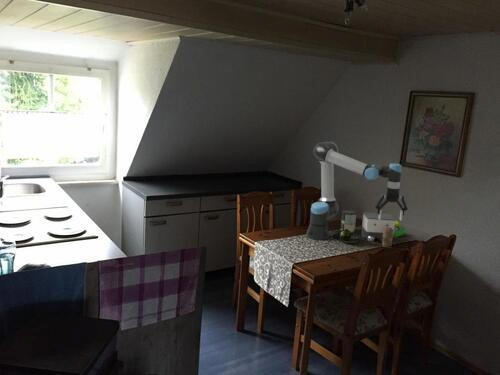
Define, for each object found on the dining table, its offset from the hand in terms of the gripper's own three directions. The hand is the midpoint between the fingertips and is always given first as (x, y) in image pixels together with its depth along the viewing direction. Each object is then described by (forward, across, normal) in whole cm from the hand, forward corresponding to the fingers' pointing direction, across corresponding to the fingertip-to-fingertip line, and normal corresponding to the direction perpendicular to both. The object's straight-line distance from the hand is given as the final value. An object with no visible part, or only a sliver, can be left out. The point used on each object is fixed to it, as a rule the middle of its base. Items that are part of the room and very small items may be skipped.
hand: (389, 219), depth 274 cm
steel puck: (+18, -8, +11) cm, 23 cm away
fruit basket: (+18, +13, +27) cm, 35 cm away
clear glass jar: (+18, -21, +31) cm, 42 cm away
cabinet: (+18, -4, +14) cm, 23 cm away
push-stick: (+18, 0, +5) cm, 19 cm away
